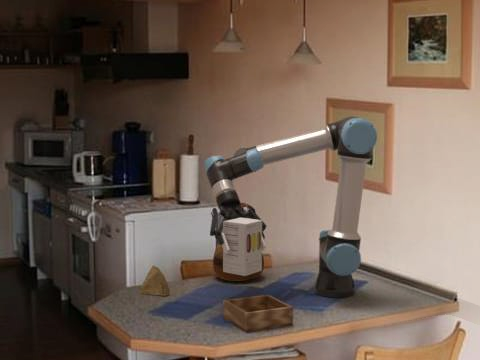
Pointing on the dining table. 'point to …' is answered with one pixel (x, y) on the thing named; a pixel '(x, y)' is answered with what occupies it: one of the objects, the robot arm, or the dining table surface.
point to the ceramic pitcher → (219, 263)
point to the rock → (155, 283)
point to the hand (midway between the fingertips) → (245, 250)
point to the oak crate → (257, 313)
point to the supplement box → (243, 246)
